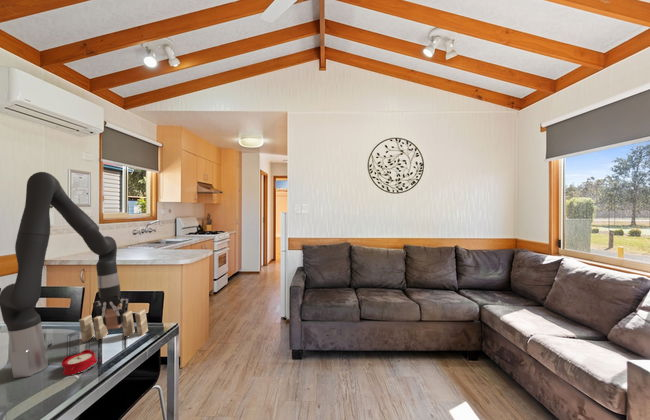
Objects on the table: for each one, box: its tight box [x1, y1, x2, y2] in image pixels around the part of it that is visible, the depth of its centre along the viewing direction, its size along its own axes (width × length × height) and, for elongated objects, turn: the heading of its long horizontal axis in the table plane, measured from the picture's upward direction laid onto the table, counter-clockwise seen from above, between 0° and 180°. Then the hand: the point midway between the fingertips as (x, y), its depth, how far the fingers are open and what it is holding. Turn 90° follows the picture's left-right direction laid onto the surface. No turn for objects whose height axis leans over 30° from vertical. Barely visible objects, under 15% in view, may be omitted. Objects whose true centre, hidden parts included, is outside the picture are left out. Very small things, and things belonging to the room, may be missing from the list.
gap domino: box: [105, 306, 122, 330], centre depth 138 cm, size 2×5×10 cm, turn 91°
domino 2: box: [92, 315, 109, 341], centre depth 148 cm, size 2×5×10 cm, turn 2°
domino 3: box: [121, 310, 136, 338], centre depth 148 cm, size 2×5×10 cm, turn 2°
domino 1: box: [79, 314, 96, 343], centre depth 147 cm, size 2×5×10 cm, turn 2°
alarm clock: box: [61, 349, 98, 376], centre depth 123 cm, size 10×6×15 cm
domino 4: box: [134, 309, 149, 337], centre depth 148 cm, size 2×5×10 cm, turn 2°
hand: (113, 324), depth 138 cm, fingers closed on gap domino, 5 cm apart
